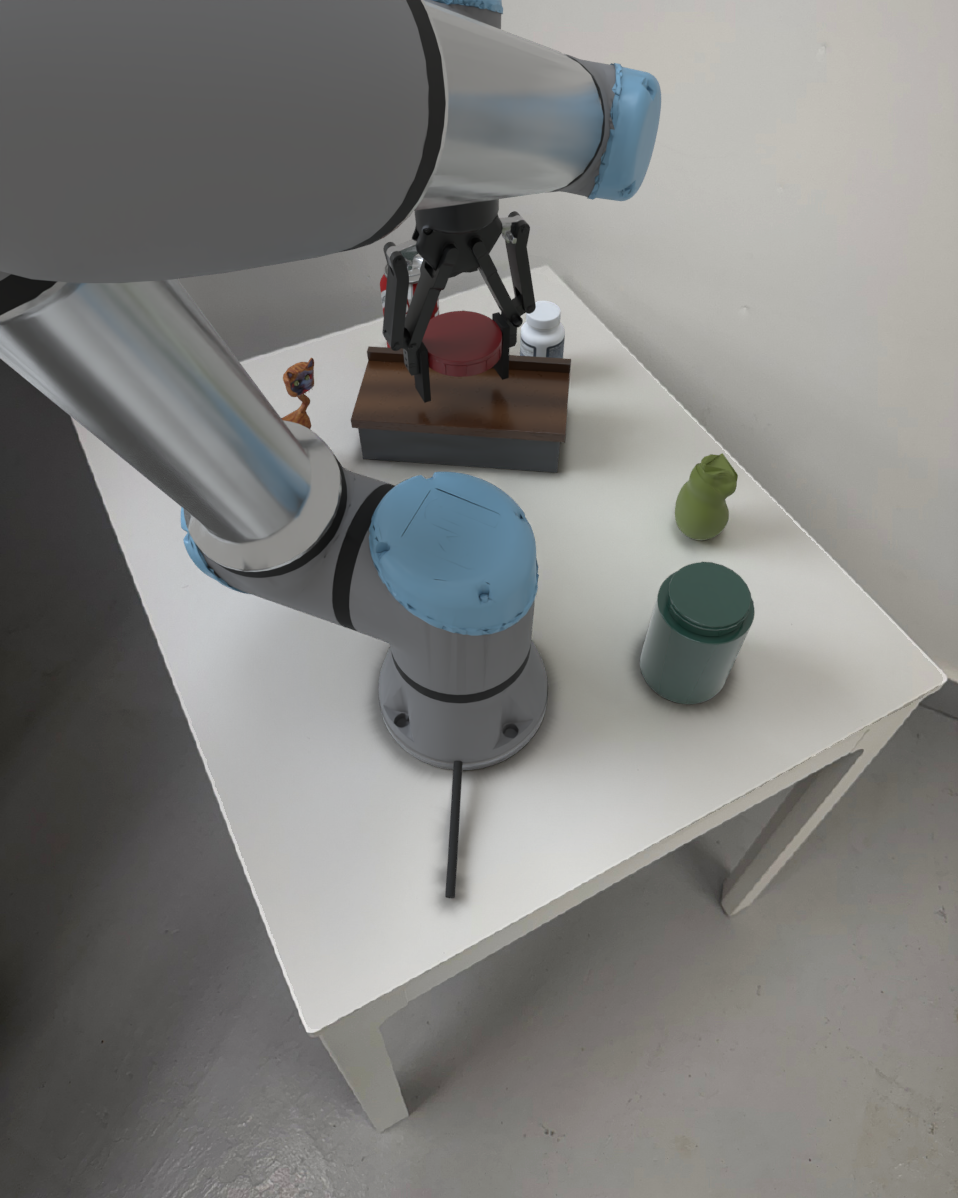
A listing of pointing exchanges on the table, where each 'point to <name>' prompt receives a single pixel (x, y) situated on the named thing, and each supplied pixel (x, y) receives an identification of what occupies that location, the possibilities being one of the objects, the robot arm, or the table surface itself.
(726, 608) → the jar
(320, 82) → the robot arm
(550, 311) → the pill bottle
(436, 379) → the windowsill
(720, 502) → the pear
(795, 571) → the table surface
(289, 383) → the cat figurine
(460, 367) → the lid
